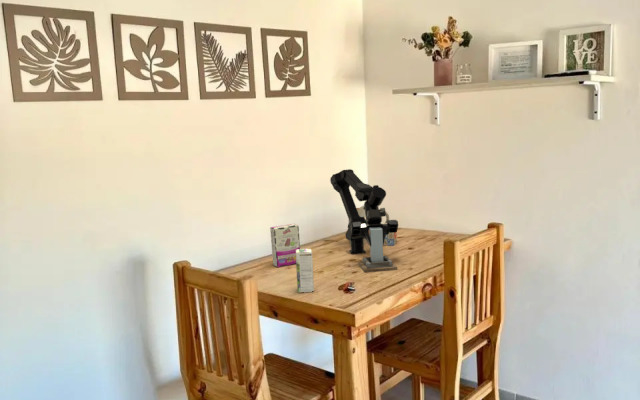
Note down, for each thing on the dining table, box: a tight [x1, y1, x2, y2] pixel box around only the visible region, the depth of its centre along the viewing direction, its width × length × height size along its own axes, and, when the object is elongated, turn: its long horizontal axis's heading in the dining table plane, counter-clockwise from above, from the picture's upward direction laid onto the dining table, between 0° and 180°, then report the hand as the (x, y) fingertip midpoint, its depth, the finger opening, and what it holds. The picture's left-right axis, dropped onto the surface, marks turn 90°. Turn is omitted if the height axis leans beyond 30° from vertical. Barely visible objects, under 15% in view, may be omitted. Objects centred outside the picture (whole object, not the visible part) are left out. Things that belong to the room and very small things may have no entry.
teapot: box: [356, 204, 390, 223], centre depth 296 cm, size 18×14×16 cm
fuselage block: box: [369, 227, 384, 262], centre depth 232 cm, size 4×4×13 cm
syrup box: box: [295, 248, 315, 294], centre depth 207 cm, size 6×6×14 cm
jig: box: [357, 255, 398, 273], centre depth 233 cm, size 13×13×3 cm
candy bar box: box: [269, 223, 301, 268], centre depth 243 cm, size 11×5×16 cm, turn 118°
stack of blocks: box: [349, 217, 398, 246], centre depth 273 cm, size 21×6×12 cm, turn 71°
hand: (376, 245), depth 230 cm, fingers closed on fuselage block, 4 cm apart
